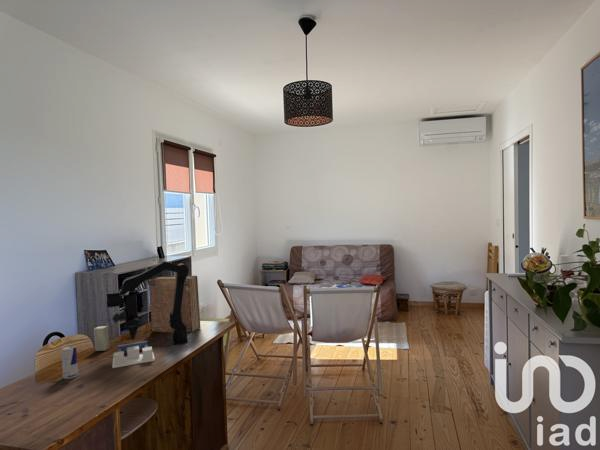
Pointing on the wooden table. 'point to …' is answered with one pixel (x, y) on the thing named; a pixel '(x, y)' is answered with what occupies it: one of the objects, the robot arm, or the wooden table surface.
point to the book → (163, 303)
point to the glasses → (125, 346)
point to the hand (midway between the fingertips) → (132, 336)
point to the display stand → (133, 357)
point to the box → (101, 338)
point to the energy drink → (69, 362)
